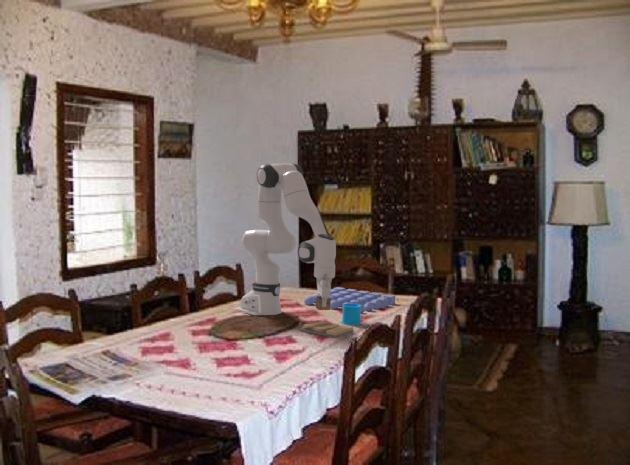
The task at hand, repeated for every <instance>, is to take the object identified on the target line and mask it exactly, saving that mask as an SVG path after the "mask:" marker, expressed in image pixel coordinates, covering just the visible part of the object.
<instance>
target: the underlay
mask: <svg viewBox="0 0 630 465" xmlns="http://www.w3.org/2000/svg"><path fill="white" fill-rule="evenodd" d="M353 331H354V326H353V325H346V324H342V325H341V324H340V326H338V327H336V328H333V329H330V330H327V331H326V332H325V333H324V332H320V331H316V330H311V329H307V328H303V327H300V328H299V332H303V333H309V334H311V335H312V334H314V335H319V336H324V337H329V338H333V339H334V338H335V339H337V338H340V337H343V336H346V335H348V334H351V333H354V332H353Z"/></svg>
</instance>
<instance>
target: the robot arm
mask: <svg viewBox="0 0 630 465" xmlns="http://www.w3.org/2000/svg"><path fill="white" fill-rule="evenodd" d="M256 179H257V183H258V184H259V185H258V191H257V214H256V215H257V218H258V219H259V220H260V221H261V222H262V223H264V224H266V225H267V227H268V229H251V230H246V231H245V232H244V233H243V235H242V237H241V245H242V248H243V249H244V251H246V252H247V253H248V254H249V255H250V257H251V258H252V260H253V262H254V266H255V267H254V268H255V281H254V283H252V284H250V286H251V287H252V289H251V290H250V291H249V292H247V293H246V294H245V295H243V296H242V298H241V300H240V305H239V306H236V307H235V311H237V312H242V313H245V314H249V315H252V316H276V315H280V314H282V307H281V299H280V292H281V283H280V275H281V274H280V271H281V269H280V266H279V265H278V263H276V262H275V261H273V260H272V259H271V258H270V257H269V254H270V255H287V254H291V253H293V252H294V250H296V245H297V239H296V236H295V235H294V234H293V232H291V230H289V229H288V228H287V227H286V225H285V222H284V220H283V215H282V214H283V213H282V194H283V198H284V201H285V205H286V208H287V210H288V211H289V212H290V213H291V214H292V215H294V216H296V217H298V218H301V219H303V220H305V221H306V222H308V224H309V225H310V227H311V229H312V232H313V235H314V238H312V239H309V240H305V241H302V242H300V244H299V245H298V247H297V256H298V258H299V260H300V261H301V262H302V263H304V264H305V263H306V264H314V266H313V268H314V269H313V271H314V272H313V276H314V278H316V288H317V290H316V291H317V292H318V294H320V296H321V297H322V307H326V303H327V298H330V294H331V289H332V286H331V285H332V284H331V283H332V280H333V279H334V278H335V277H336V263H335V261H336V257H337V256H336V255H337V245H336V239H335V237H333V236H332V235H330V234H329V232H328V229H327V226H326V224H325V221H324V218H323V216H322V214H321V211H320V210H319V208H318V207H317V206H316V205H315V203H314V201H313V199H312V198H311V195H310V191H309V189H308V186H307V182H306V180H305V178H304V172H303V168H302V167H301V165H299V164H297V163H286V162H279V163H272V164H270V163H267V164H262V165H261V166H260V167H258V169H257V172H256Z"/></svg>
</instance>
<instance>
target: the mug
mask: <svg viewBox="0 0 630 465" xmlns="http://www.w3.org/2000/svg"><path fill="white" fill-rule="evenodd" d="M361 314H362V313H361V305H359V304H353V303H347V304H343V308H342V318H341V320H342V321H341V323H342V325H346V326H358V325H361V319H362V318H361Z"/></svg>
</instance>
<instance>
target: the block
mask: <svg viewBox="0 0 630 465" xmlns="http://www.w3.org/2000/svg"><path fill="white" fill-rule="evenodd" d="M330 303H331V298H327V303H326V307H322V297H321V296H316V303H315V308H316V309H317V310H318V311H330V310H331V308H330Z"/></svg>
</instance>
